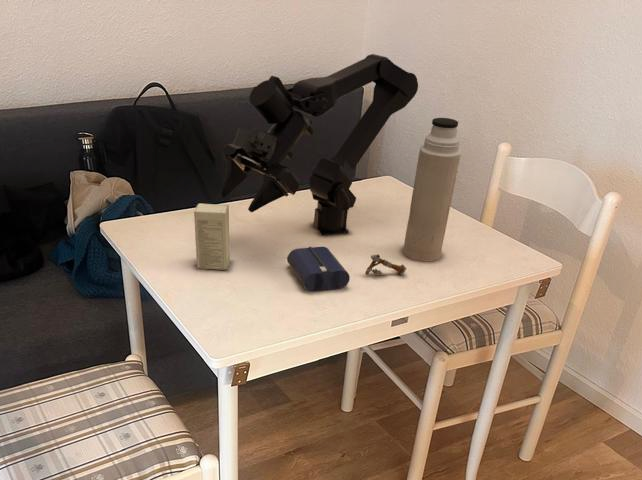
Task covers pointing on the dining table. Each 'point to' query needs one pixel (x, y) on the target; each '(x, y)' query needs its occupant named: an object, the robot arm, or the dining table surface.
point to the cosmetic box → (212, 236)
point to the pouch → (318, 269)
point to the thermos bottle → (432, 191)
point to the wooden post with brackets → (386, 263)
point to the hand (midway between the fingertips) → (235, 203)
